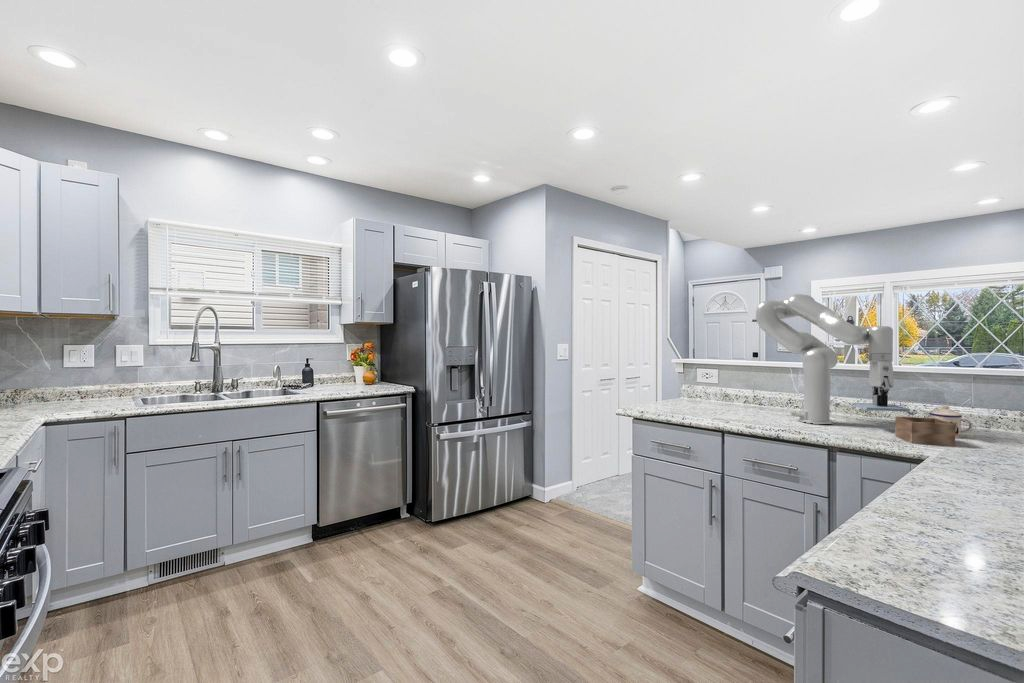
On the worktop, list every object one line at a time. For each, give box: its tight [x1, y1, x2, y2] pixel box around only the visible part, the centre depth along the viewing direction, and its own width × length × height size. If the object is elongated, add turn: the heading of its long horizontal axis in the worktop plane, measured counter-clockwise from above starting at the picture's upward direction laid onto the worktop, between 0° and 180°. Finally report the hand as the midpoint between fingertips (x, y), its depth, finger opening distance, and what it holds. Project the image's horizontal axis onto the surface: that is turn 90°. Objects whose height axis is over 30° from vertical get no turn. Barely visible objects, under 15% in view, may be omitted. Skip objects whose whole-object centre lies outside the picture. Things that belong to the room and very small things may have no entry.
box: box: [894, 415, 956, 447], centre depth 167 cm, size 12×12×8 cm
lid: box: [852, 394, 911, 413], centre depth 187 cm, size 14×14×5 cm
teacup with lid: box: [928, 405, 974, 439], centre depth 176 cm, size 12×9×12 cm
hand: (879, 404), depth 187 cm, fingers closed on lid, 3 cm apart
